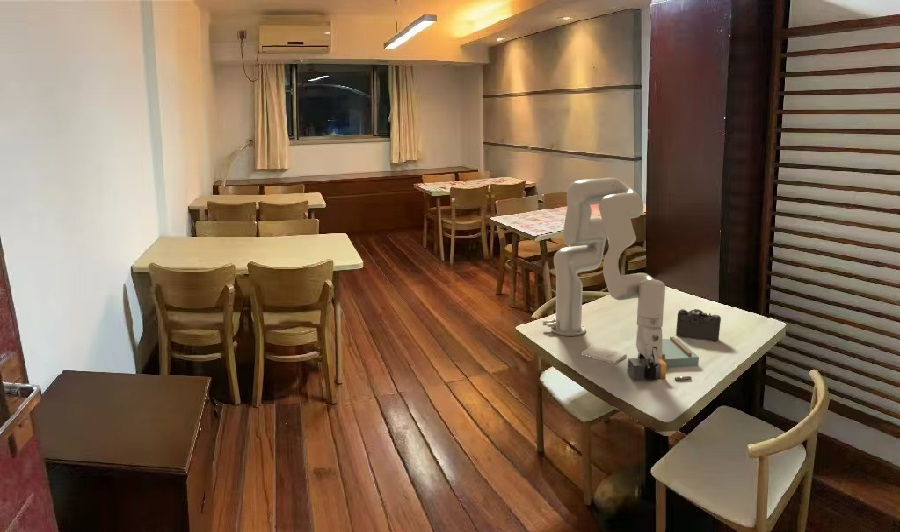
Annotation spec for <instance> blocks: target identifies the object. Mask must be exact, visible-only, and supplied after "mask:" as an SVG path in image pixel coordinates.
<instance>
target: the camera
mask: <svg viewBox="0 0 900 532" xmlns="http://www.w3.org/2000/svg"><path fill="white" fill-rule="evenodd" d="M676 318H677V319H676V331H675V335H676V336H677V337H679V338H687V339H692V340H693V339H694V340H698V341H699V340H701V341H706V342H707V341H708V342H716V343H717V342H718V341H719V339H720V330H721V324H722V323H721V321H722V317H721V316H720V315H719V314H712V313H711V312H709V313H707V312H704V311H702V310H701V309H698V308H697V309H696V308H695V309H691V310H689V311H687V310H686V309H684V308H681V309H680V310H678V312H677V317H676Z"/></svg>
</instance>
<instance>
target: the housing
mask: <svg viewBox="0 0 900 532" xmlns="http://www.w3.org/2000/svg"><path fill="white" fill-rule="evenodd" d="M649 358H653V357H649ZM658 359H659V358H658ZM649 361H650V363H651V362H653V360H649ZM666 365H667V364H666V363H665V362H664V361H663V360H662V359H659V364H658V365H657V368H656V379H655V380H657V379H659V380H666V377H667V376H666V375H667V374H666V373H667V368H666ZM646 367H647V362H646V358H638V357H629V358H628V359H627V369H626V370H627V372H626V373H627V375H628V377H630V379H632V381H633V382H638V381H640V382H641V381H647V380H646V379H645V368H646ZM655 380H654V381H655ZM657 381H658V380H657Z"/></svg>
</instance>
